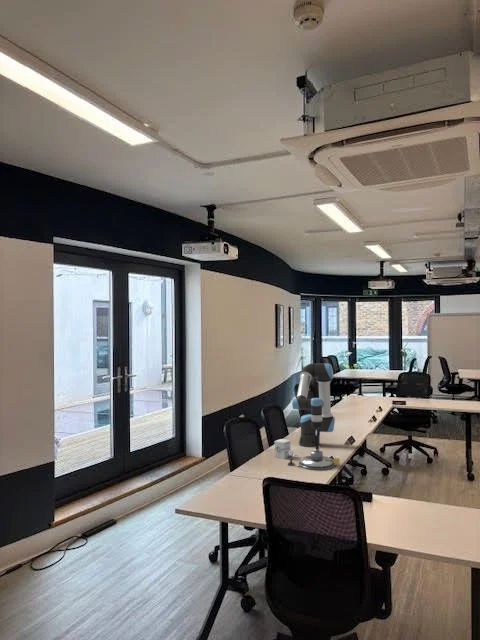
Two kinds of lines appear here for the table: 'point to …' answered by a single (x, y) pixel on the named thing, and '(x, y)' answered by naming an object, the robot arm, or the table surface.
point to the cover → (316, 455)
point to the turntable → (319, 462)
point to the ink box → (282, 448)
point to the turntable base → (316, 468)
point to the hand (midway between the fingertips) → (317, 455)
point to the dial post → (291, 458)
